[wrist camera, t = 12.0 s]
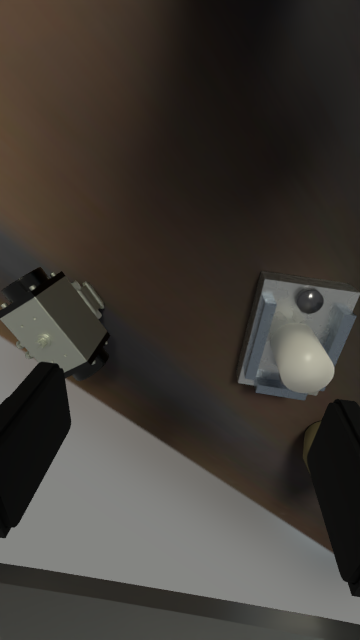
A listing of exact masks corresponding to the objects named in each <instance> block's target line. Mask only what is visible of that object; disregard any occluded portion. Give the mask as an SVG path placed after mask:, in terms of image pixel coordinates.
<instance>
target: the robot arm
mask: <svg viewBox="0 0 360 640" xmlns="http://www.w3.org/2000/svg"><path fill="white" fill-rule="evenodd" d="M70 426H71V417H70V410H69V404H68V397H67V390H66V384H65V376H64V370H63V369H62V368H60V367H59V365H58V364H57V363H50V362H40V363H38V365H37V366H36V367H35V368H34V369H33V370H32V371H31V373H30V374H29V375H28V376H27V377H26V378H25V380H24V381H23V382H22V383H21V384H20V385H19V386H18V388H17V389H16V390H15V391H14V392H13V393H12V394H11V395H10V396H9V397H8V398H6V399H5V400H4V401H3V402H2V404H1V405H0V538H6V536H7V534H8V532H9V531H10V529H11V527H16V526H17V525H18V523H19V522H20V520H21V518H22V516H23V515H24V513H25V511H26V509H27V507H28V505H29V503H30V502H31V500H32V498H33V496H34V494H35V492H36V490H37V489H38V487H39V485H40V483H41V481H42V479H43V478H44V476H45V474H46V472H47V470H48V468H49V467H50V465H51V463H52V461H53V459H54V457H55V456H56V454H57V452H58V450H59V448H60V446H61V445H62V442H63V441H64V439H65V437H66V435H67V434H68V432H69V429H70ZM307 464H308V468H309V471H310V475H311V478H312V482H313V485H314V488H315V492H316V495H317V498H318V502H319V505H320V508H321V512H322V515H323V518H324V522H325V525H326V528H327V532H328V535H329V538H330V542H331V545H332V548H333V552H334V555H335V559H336V562H337V565H338V569H339V572H340V575H341V577H342V579H343V580H344V581H346V582H348V585H349V588H350V591H351V594H352V596H357V597H360V407H359V405H358V404H357V403H356V402H355V401H348V400H340V399H336V400H335V401H334V402H333V403H329V405H328V407H327V409H326V411H325V414H324V416H323V418H322V421H321V423H320V426H319V428H318V430H317V433H316V435H315V437H314V440H313V442H312V444H311V447H310V449H309V452H308V454H307ZM0 640H360V625H359V624H353V623H349V622H343V621H339V620H333V619H328V618H323V617H318V616H312V615H306V614H301V613H295V612H289V611H283V610H278V609H272V608H267V607H261V606H255V605H250V604H243V603H238V602H233V601H227V600H221V599H215V598H209V597H204V596H198V595H192V594H186V593H180V592H174V591H168V590H162V589H156V588H151V587H145V586H139V585H133V584H126V583H121V582H115V581H109V580H103V579H97V578H91V577H85V576H79V575H73V574H67V573H61V572H54V571H49V570H43V569H36V568H29V567H23V566H16V565H9V564H2V563H0Z"/></svg>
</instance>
